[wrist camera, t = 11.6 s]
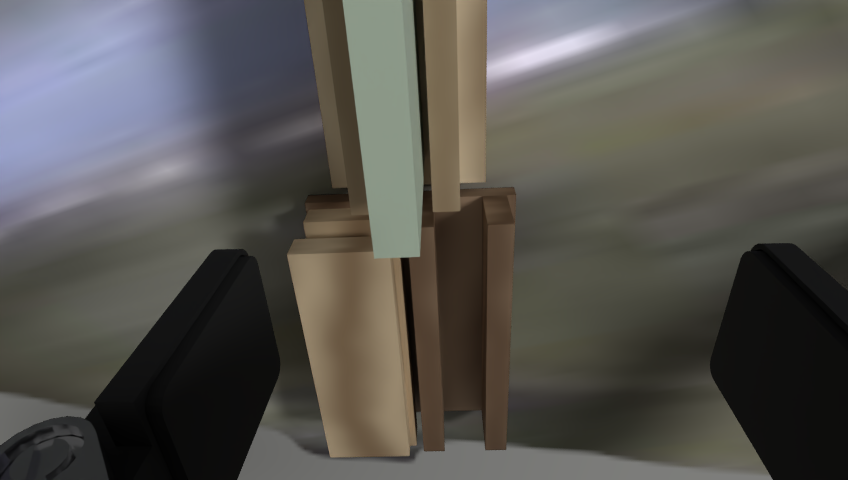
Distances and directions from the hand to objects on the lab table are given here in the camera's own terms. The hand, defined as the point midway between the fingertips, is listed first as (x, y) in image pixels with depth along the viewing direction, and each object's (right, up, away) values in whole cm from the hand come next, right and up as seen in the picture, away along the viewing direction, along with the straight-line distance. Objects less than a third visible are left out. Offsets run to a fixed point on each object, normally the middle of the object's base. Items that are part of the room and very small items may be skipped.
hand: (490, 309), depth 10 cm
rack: (-2, -4, +30) cm, 31 cm away
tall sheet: (-3, +14, +19) cm, 23 cm away
